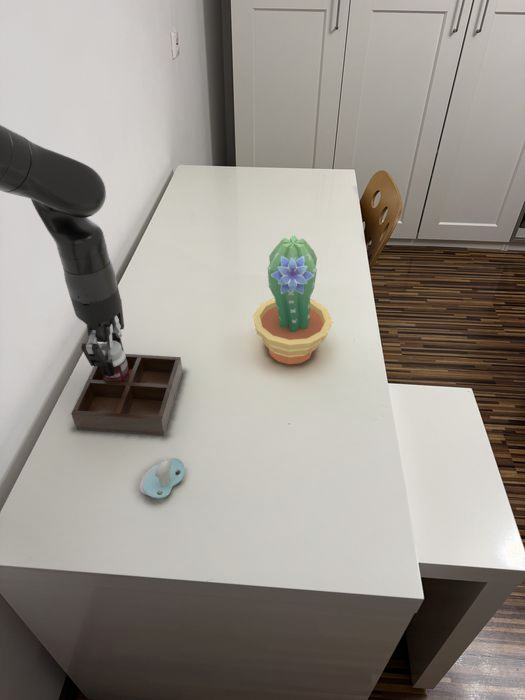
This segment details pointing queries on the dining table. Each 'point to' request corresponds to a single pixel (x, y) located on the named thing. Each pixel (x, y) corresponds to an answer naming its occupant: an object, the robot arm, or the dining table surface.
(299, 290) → the potted cactus
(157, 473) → the pacifier
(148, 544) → the dining table surface
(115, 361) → the pill bottle
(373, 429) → the dining table surface
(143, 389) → the grid
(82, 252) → the robot arm
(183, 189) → the dining table surface
